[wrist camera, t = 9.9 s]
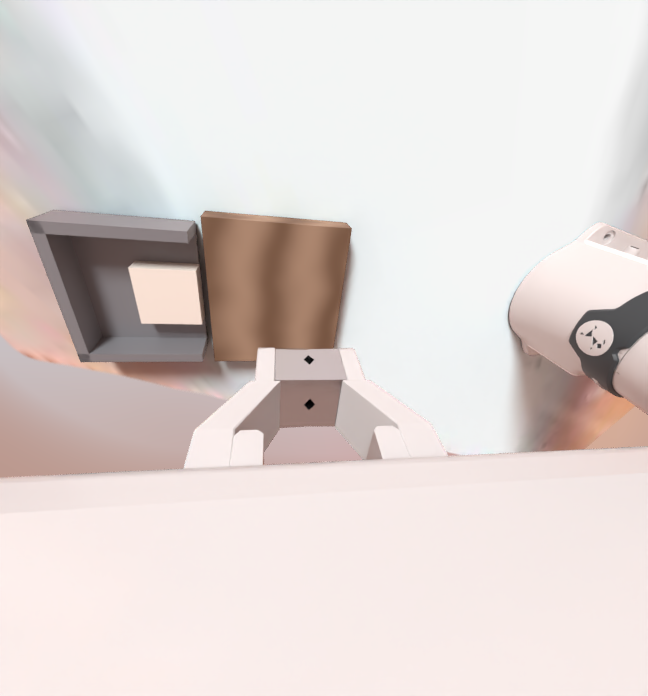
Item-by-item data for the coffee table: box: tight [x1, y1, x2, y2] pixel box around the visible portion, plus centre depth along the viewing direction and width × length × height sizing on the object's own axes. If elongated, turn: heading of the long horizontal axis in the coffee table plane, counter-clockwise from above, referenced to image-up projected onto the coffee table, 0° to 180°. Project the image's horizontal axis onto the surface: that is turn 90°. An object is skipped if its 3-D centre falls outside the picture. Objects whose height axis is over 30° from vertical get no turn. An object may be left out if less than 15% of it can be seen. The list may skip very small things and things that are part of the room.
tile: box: [128, 261, 205, 325], centre depth 33 cm, size 6×6×2 cm
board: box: [201, 211, 352, 361], centre depth 35 cm, size 14×16×2 cm
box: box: [26, 210, 208, 362], centre depth 32 cm, size 12×14×4 cm
